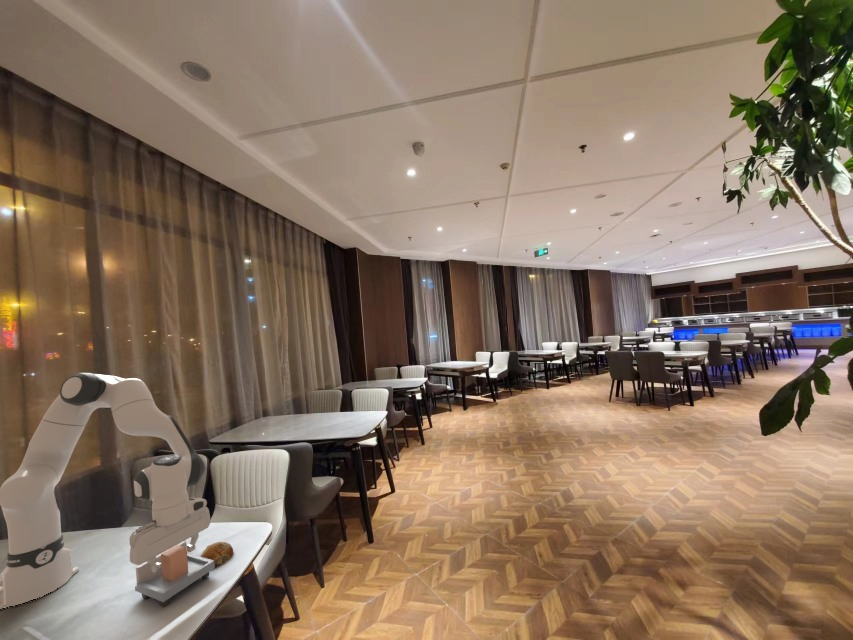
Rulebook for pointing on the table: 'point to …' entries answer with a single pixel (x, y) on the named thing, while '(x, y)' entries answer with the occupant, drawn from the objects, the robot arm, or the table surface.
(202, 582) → the table surface
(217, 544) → the bread roll
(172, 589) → the grey open tray
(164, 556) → the block
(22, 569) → the robot arm
